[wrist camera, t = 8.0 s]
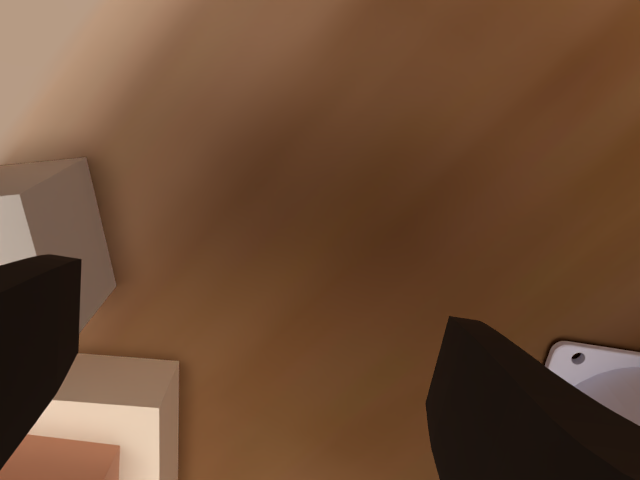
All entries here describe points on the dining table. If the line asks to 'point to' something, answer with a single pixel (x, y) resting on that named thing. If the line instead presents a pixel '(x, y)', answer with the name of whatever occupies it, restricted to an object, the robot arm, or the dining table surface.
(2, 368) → the robot arm
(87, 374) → the cream block
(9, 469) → the terracotta cube
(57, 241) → the grey cube
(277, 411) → the dining table surface
